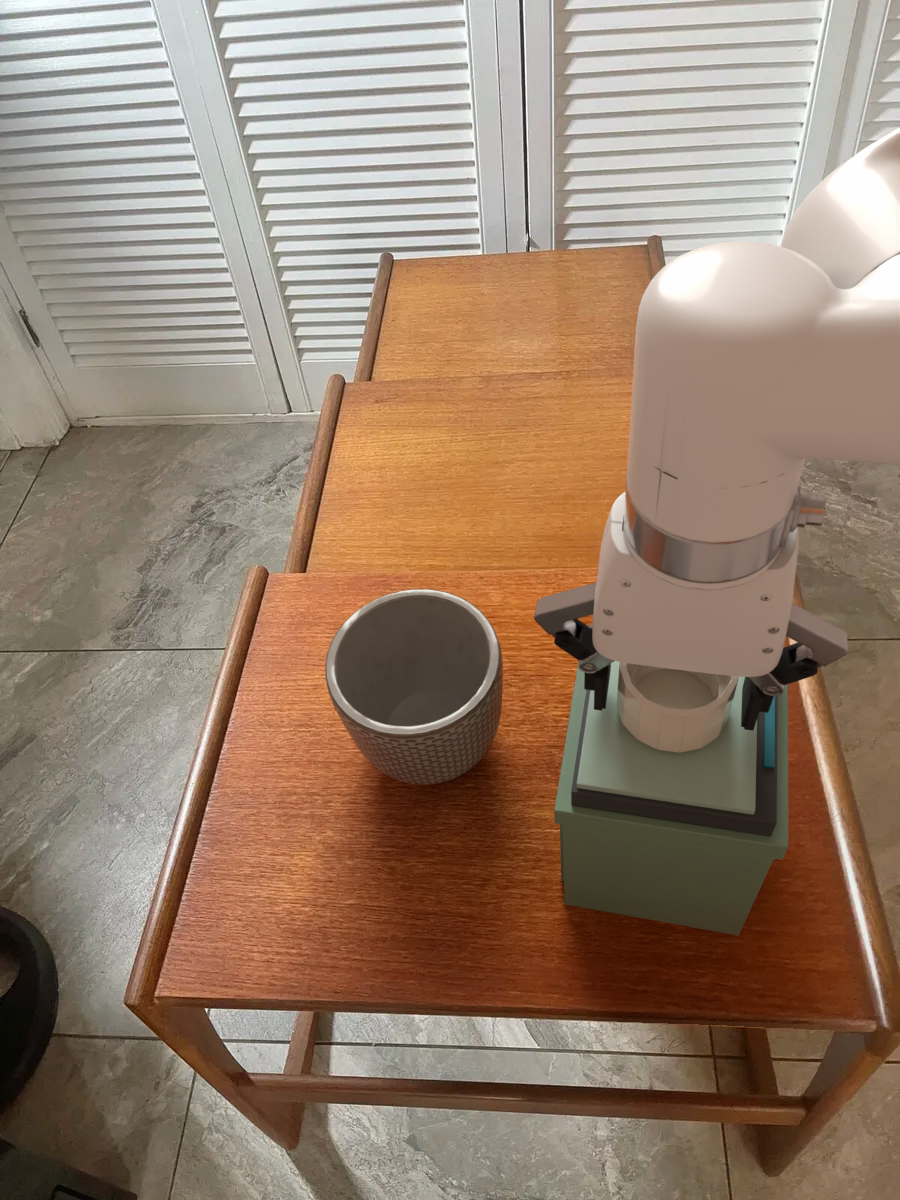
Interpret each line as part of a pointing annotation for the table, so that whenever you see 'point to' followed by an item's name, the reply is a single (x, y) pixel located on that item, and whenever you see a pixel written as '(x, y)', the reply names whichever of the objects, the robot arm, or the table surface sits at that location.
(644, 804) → the scale
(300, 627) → the table surface
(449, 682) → the planter
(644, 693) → the bowl
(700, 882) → the stand
